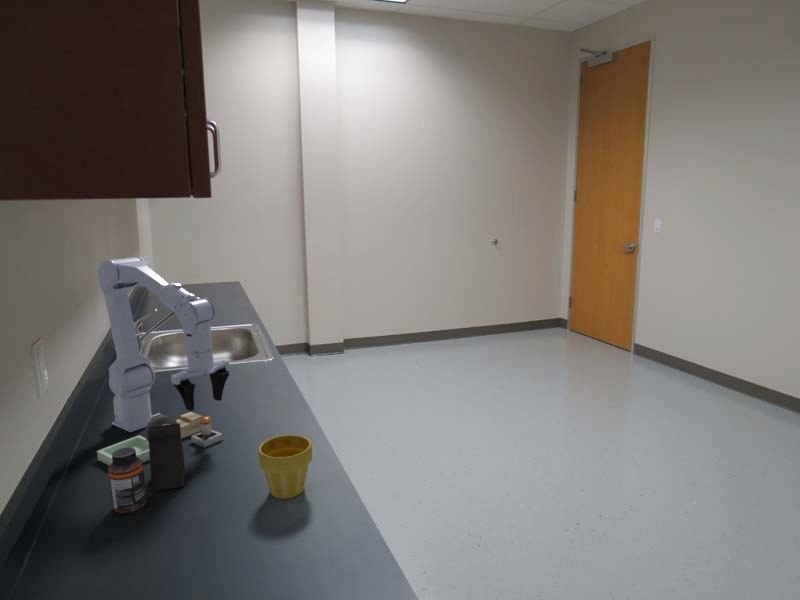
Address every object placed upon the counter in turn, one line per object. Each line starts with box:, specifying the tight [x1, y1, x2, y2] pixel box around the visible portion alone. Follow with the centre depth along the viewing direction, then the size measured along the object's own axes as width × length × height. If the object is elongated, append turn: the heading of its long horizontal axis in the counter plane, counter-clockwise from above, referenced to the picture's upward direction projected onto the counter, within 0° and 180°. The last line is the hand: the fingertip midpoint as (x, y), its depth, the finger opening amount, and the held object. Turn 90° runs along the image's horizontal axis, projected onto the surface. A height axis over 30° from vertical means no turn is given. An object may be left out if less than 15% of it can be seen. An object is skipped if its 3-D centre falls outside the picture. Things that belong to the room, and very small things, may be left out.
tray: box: [96, 434, 150, 467], centre depth 124 cm, size 10×10×2 cm
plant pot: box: [258, 434, 313, 500], centre depth 108 cm, size 10×10×10 cm
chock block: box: [175, 411, 203, 440], centre depth 137 cm, size 5×7×4 cm
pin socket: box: [190, 429, 224, 448], centre depth 131 cm, size 5×5×2 cm
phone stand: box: [148, 423, 186, 494], centre depth 112 cm, size 9×6×12 cm, turn 19°
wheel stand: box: [144, 412, 177, 440], centre depth 130 cm, size 5×7×7 cm
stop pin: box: [200, 415, 213, 440], centre depth 131 cm, size 2×2×6 cm
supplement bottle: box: [107, 448, 148, 514], centre depth 103 cm, size 6×6×11 cm
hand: (204, 404), depth 130 cm, fingers open, 7 cm apart
